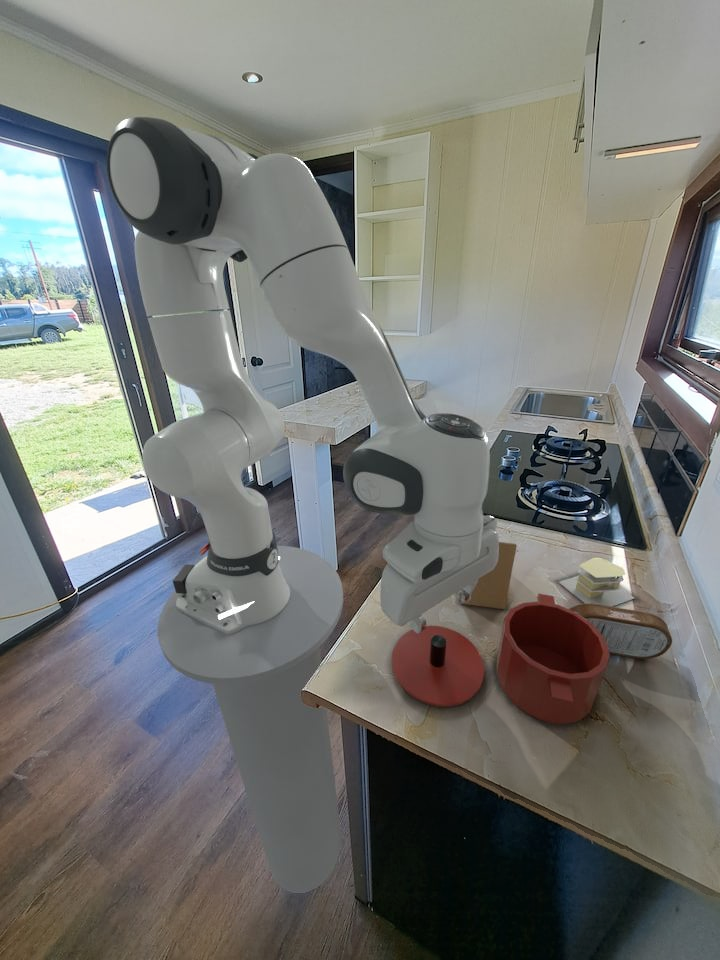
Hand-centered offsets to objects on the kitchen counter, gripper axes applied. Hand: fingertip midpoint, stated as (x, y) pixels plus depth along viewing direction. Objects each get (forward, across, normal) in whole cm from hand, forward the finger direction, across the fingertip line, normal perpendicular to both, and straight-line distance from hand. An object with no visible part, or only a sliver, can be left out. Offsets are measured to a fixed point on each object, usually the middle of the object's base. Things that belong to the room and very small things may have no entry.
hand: (441, 613), depth 57 cm
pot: (+12, -11, +11) cm, 20 cm away
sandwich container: (+12, -22, -9) cm, 27 cm away
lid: (+11, 0, 0) cm, 11 cm away
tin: (+12, -25, +15) cm, 31 cm away
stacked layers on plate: (+12, -38, +6) cm, 40 cm away
